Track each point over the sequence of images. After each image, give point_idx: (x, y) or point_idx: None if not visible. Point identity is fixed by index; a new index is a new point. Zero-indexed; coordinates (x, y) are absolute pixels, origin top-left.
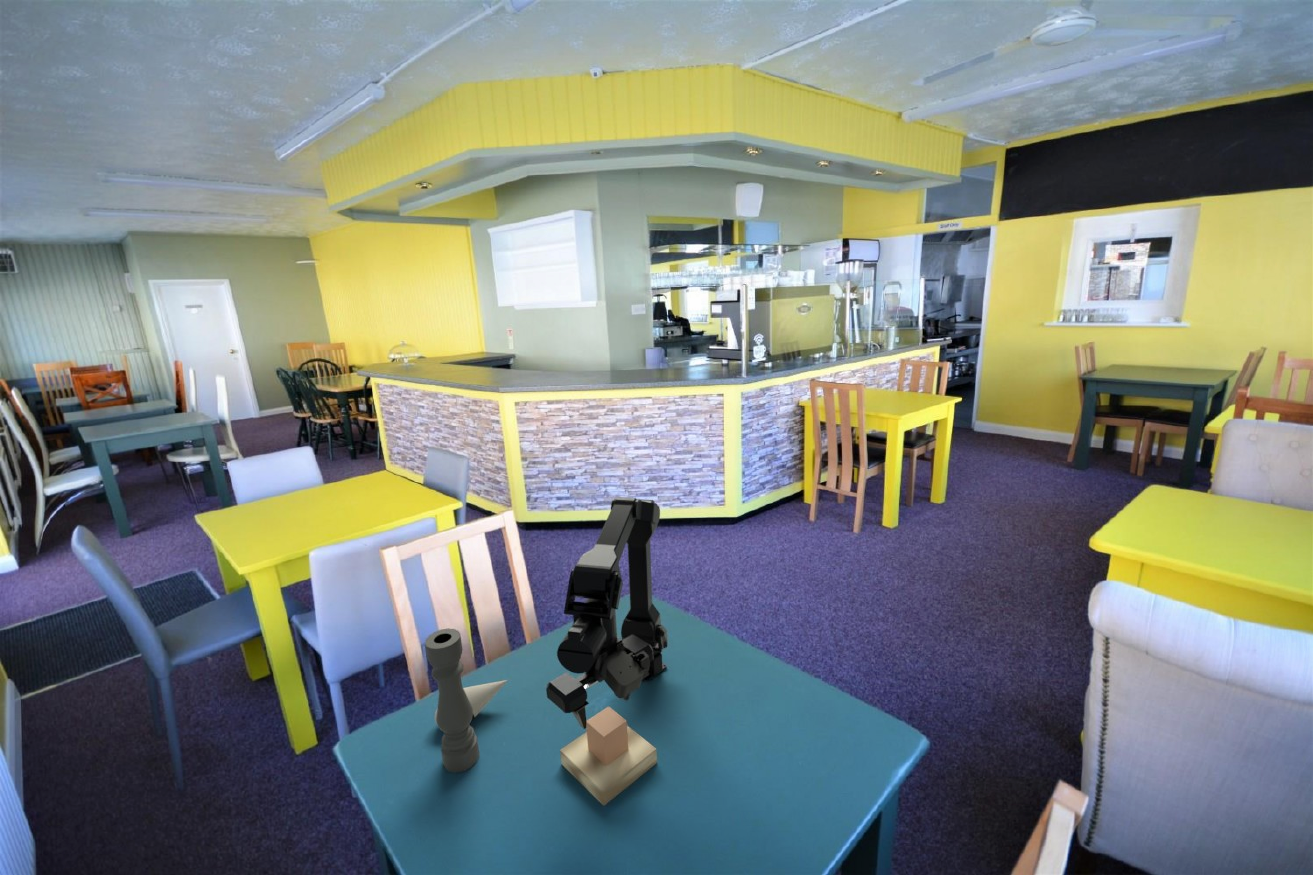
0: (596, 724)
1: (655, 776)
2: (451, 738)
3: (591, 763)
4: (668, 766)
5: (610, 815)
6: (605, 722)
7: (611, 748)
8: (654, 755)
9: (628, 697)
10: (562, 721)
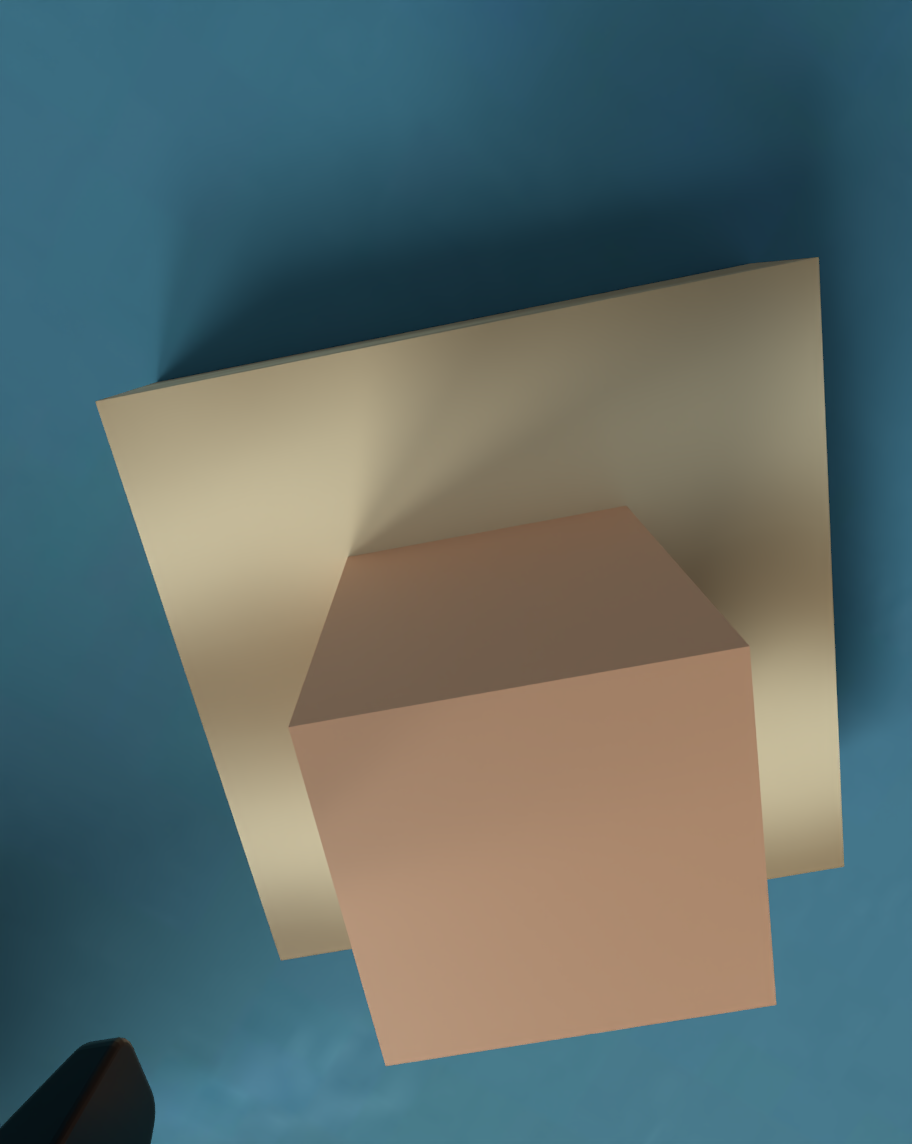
0: (695, 891)
1: (235, 263)
2: None
3: (716, 605)
4: (82, 288)
5: (758, 141)
6: (576, 858)
7: (573, 566)
8: (148, 387)
9: (57, 1084)
10: (587, 1071)
